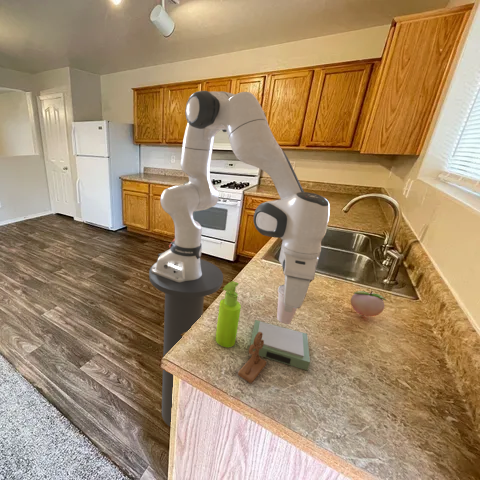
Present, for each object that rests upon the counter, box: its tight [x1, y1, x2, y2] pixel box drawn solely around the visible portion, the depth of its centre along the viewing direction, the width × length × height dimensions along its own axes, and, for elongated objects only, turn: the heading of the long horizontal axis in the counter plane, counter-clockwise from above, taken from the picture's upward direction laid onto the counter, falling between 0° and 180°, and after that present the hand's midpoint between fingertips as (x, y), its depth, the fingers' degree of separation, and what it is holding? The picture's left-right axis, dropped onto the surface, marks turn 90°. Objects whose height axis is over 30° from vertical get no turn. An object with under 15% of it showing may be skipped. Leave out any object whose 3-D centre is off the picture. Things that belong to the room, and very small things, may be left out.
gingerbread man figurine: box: [237, 332, 267, 384], centre depth 68 cm, size 9×4×12 cm, turn 135°
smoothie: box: [276, 284, 298, 325], centre depth 72 cm, size 6×6×14 cm
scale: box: [249, 319, 311, 372], centre depth 77 cm, size 15×12×4 cm
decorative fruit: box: [350, 290, 387, 317], centre depth 91 cm, size 9×8×10 cm
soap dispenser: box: [215, 280, 242, 348], centre depth 76 cm, size 6×7×20 cm
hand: (287, 302), depth 73 cm, fingers closed on smoothie, 6 cm apart
